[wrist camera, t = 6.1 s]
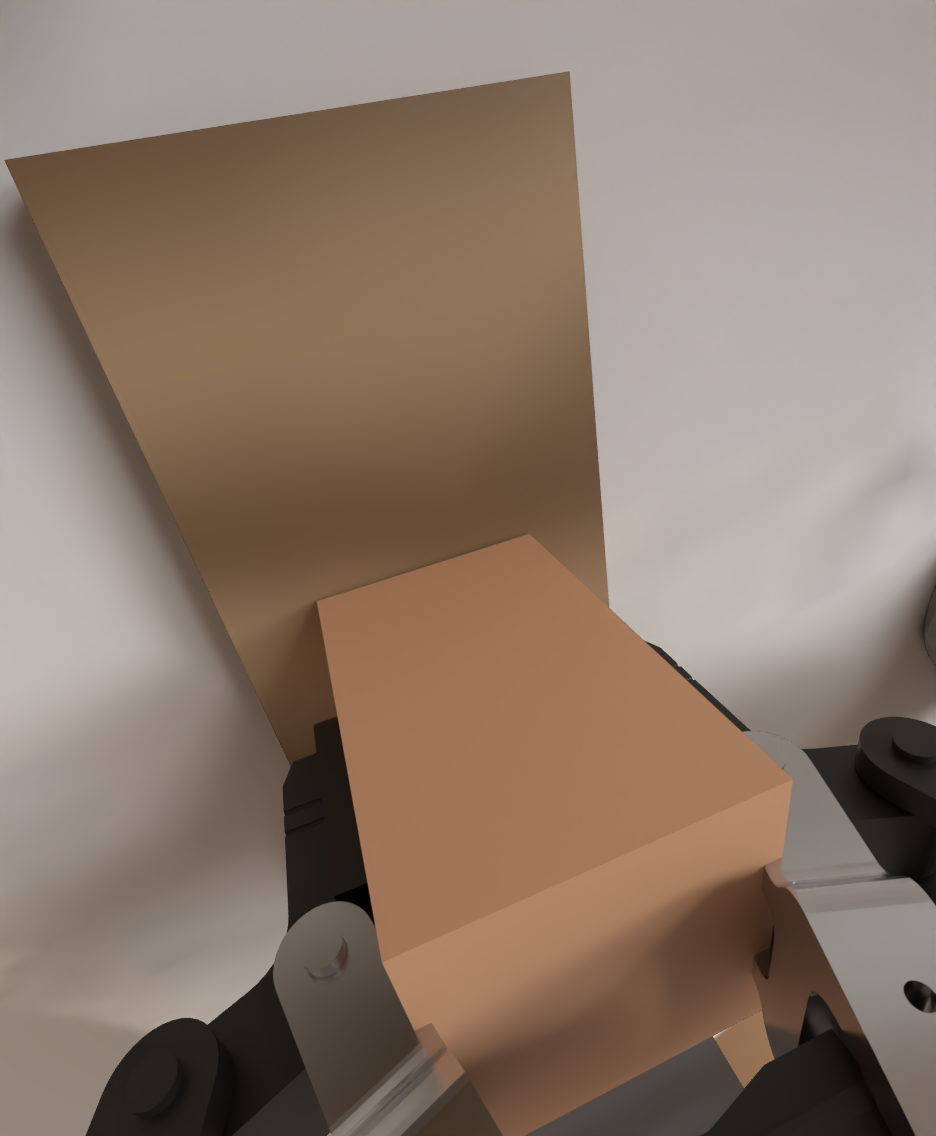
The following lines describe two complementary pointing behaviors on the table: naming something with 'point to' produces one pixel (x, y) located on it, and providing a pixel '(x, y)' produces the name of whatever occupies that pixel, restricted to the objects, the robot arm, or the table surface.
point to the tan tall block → (547, 828)
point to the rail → (355, 380)
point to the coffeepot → (931, 628)
